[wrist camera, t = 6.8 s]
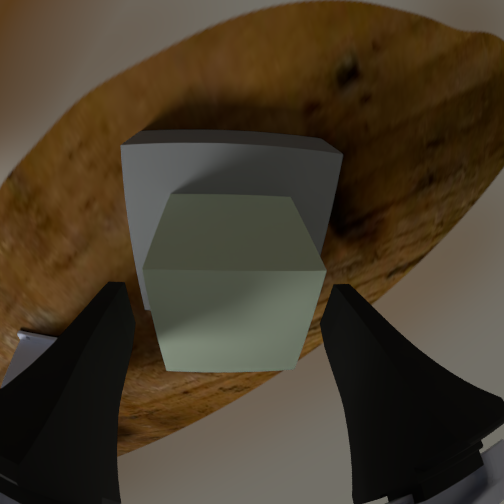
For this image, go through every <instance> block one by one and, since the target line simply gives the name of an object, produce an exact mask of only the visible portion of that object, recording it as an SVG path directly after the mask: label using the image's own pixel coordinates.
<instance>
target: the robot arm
mask: <svg viewBox="0 0 504 504" xmlns="http://www.w3.org/2000/svg"><path fill="white" fill-rule="evenodd" d="M320 326H321V332H322V337H323V342H324V347H325V350H326V353H327V356H328V359H329V362H330V365H331V368H332V371H333V375H334V377H335V380H336V384H337V386H338V390H339V392H340V396H341V399H342V403H343V407H344V412H345V417H346V423H347V428H348V436H349V443H350V452H351V464H352V498H353V503H354V504H363V503H367V502H370V501H374V500H377V499H380V498H383V497H385V496H387V497H388V501H389V502H388V503H385V504H499V503H501V502H502V501H503V500H504V440H503V439H502V440H500V441H498V442H497V443H496V444H494V445H493V446H491V447H490V448H489V449H487V450H486V451H484V452H482V453H481V454H480V452H479V449H481V448H482V447H483V444H482V442H481V439H483V438H485V437H486V436H487V435H489V434H490V433H492V432H493V431H494V430H495V429H497V428H498V427H500V426H501V425H502V424H504V401H503V399H502V398H501V397H498V396H496V395H494V394H491V393H489V392H487V391H484V390H482V389H480V388H477V387H476V386H474V385H472V384H470V383H468V382H466V381H464V380H463V379H461V378H459V377H458V376H456V375H454V374H453V373H451V372H449V371H448V370H447V369H445V368H444V367H442V366H441V365H439V364H438V363H436V362H435V361H433V360H432V359H431V358H430V357H428V356H427V355H426V354H424V353H423V352H422V351H420V350H419V349H418V348H417V347H415V346H414V345H413V344H412V343H411V342H410V341H409V340H407V339H406V338H405V337H404V336H403V335H402V334H401V333H400V332H398V331H397V330H396V329H395V328H394V327H393V326H392V325H391V324H390V323H389V322H388V321H387V320H386V319H385V318H383V316H382V315H381V314H380V313H378V312H377V311H376V310H375V309H374V308H373V307H372V306H371V305H370V304H369V303H368V302H367V301H366V300H365V299H364V298H363V297H362V296H361V295H360V294H359V293H358V292H357V291H356V290H355V289H354V288H353V287H352V286H351V285H349V284H334V285H333V288H332V291H331V294H330V297H329V300H328V302H327V305H326V308H325V311H324V314H323V317H322V319H321V322H320ZM134 331H135V319H134V316H133V312H132V309H131V305H130V301H129V298H128V294H127V290H126V286H125V282H108V283H107V284H106V285H105V286H104V287H103V288H102V289H101V290H100V291H99V293H98V294H97V295H96V296H95V297H94V298H93V299H92V300H91V302H90V303H89V304H88V305H87V306H86V307H85V309H84V310H83V311H82V312H81V313H80V314H79V315H78V316H77V318H76V319H75V320H74V321H73V322H72V323H71V324H70V326H69V327H68V328H67V329H66V330H65V331H64V332H63V333H62V334H61V335H60V336H59V337H58V338H57V337H51V336H45V335H40V334H34V333H29V332H25V331H18V333H17V335H18V337H19V338H20V342H19V344H18V346H17V349H16V351H15V353H14V355H13V358H12V360H11V362H10V365H9V367H8V370H7V372H6V375H5V377H4V380H3V383H2V386H1V389H0V504H121V499H120V492H119V482H118V470H117V469H118V468H117V429H118V414H119V406H120V400H121V395H122V391H123V386H124V381H125V377H126V373H127V369H128V364H129V360H130V356H131V352H132V346H133V339H134Z"/></svg>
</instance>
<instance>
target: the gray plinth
mask: <svg viewBox="0 0 504 504" xmlns="http://www.w3.org/2000/svg"><path fill="white" fill-rule="evenodd" d="M121 158H122V171H123V182H124V191H125V200H126V208H127V216H128V223H129V230H130V236H131V243H132V249H133V254H134V260H135V265H136V271H137V276H138V281H139V285H140V290H141V295H142V299H143V303H144V308H145V310H151V309H150V305H149V301H148V296H147V291H146V286H145V281H144V276H143V271H142V268H143V265H144V262H145V259H146V256H147V254H148V251H149V248H150V245H151V242H152V240H153V237H154V234H155V232H156V229H157V226H158V224H159V221H160V219H161V216H162V213H163V211H164V208H165V206H166V203H167V201H168V199H169V196H170V194H233V195H262V196H284V197H291V199H292V201H293V203H294V204H295V206H296V208H297V210H298V212H299V214H300V216H301V218H302V220H303V222H304V224H305V226H306V228H307V230H308V233H309V235H310V237H311V239H312V241H313V243H314V245H315V247H316V249H317V251H318V253H319V255H321V251H322V247H323V243H324V239H325V235H326V231H327V227H328V223H329V219H330V214H331V210H332V206H333V201H334V197H335V192H336V188H337V183H338V178H339V173H340V168H341V163H342V158H343V154H342V153H341V152H340V151H338V150H337V149H335V148H334V147H333V146H331V145H330V144H328V143H327V142H326V141H324V140H323V139H321V138H314V137H306V136H298V135H289V134H278V133H267V132H253V131H235V130H149V131H140V132H138V133H137V134H135V135H134V136H133V137H131V138H130V139H128V140H127V141H126V142H124V143H123V144H122V145H121Z"/></svg>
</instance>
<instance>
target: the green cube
mask: <svg viewBox="0 0 504 504" xmlns="http://www.w3.org/2000/svg"><path fill="white" fill-rule="evenodd" d="M142 271H143V276H144V281H145V286H146V291H147V296H148V301H149V305H150V309H151V314H152V318H153V322H154V326H155V330H156V334H157V338H158V342H159V346H160V349H161V353H162V357H163V360H164V364H165V367H166V370H167V371H182V372H258V371H278V370H292V369H295V366H296V364H297V361H298V358H299V355H300V353H301V350H302V347H303V344H304V341H305V338H306V335H307V332H308V329H309V326H310V323H311V320H312V317H313V314H314V311H315V308H316V305H317V301H318V298H319V295H320V292H321V288H322V285H323V282H324V278H325V275H326V271H327V270H326V268H325V266H324V264H323V262H322V260H321V257H320V255H319V253H318V251H317V249H316V247H315V245H314V243H313V241H312V239H311V237H310V235H309V233H308V230H307V228H306V226H305V224H304V222H303V220H302V218H301V216H300V214H299V212H298V210H297V208H296V206H295V204H294V203H293V201H292V199H291V197H284V196H262V195H233V194H170V196H169V199H168V201H167V203H166V206H165V208H164V211H163V213H162V216H161V219H160V221H159V224H158V226H157V229H156V232H155V234H154V237H153V240H152V242H151V245H150V248H149V251H148V254H147V256H146V259H145V262H144V265H143V268H142Z"/></svg>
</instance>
